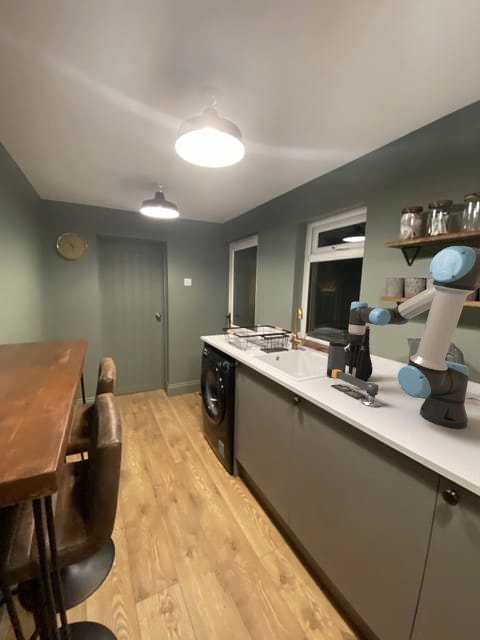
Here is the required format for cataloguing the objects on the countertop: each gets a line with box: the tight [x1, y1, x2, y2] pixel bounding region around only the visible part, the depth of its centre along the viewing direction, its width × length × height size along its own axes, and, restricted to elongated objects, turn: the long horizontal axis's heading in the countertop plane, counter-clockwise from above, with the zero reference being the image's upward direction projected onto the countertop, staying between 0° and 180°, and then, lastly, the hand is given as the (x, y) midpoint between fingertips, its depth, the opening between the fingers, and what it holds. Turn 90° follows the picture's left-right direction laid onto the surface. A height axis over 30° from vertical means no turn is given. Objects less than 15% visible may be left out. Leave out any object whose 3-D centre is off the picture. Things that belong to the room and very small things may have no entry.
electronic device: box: [326, 340, 348, 379], centre depth 154 cm, size 9×6×20 cm, turn 84°
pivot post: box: [360, 394, 382, 408], centre depth 119 cm, size 8×8×4 cm
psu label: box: [330, 383, 353, 393], centre depth 136 cm, size 8×6×1 cm
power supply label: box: [343, 390, 368, 400], centre depth 128 cm, size 8×6×1 cm
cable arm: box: [332, 369, 379, 396], centre depth 128 cm, size 25×4×4 cm, turn 23°
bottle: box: [355, 325, 374, 382], centre depth 152 cm, size 11×11×30 cm
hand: (351, 379), depth 137 cm, fingers closed
